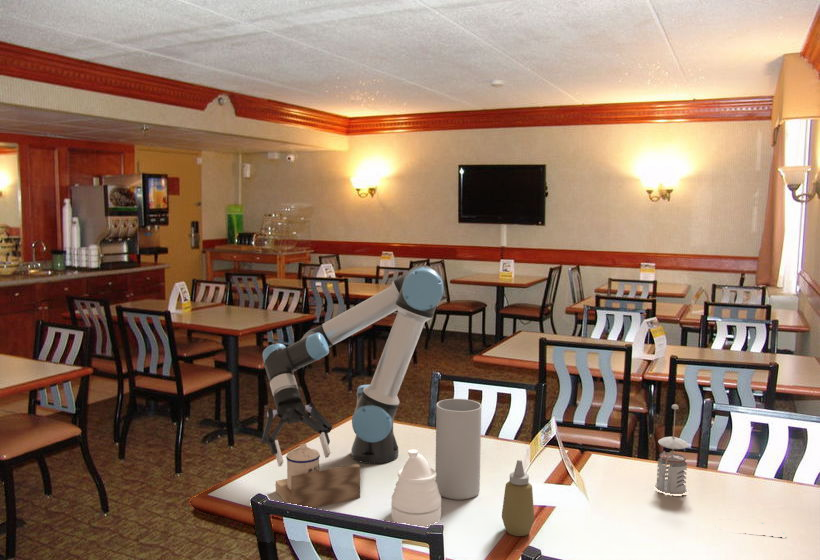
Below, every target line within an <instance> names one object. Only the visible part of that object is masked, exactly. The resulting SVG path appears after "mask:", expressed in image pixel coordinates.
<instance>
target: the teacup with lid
mask: <svg viewBox="0 0 820 560" xmlns="http://www.w3.org/2000/svg"><path fill="white" fill-rule="evenodd" d="M320 457H321V455H320V452H319V451H318V450H316V449H314V448H310V447H308V446H307V444H306V443H301V444H299V446H298V447H297V448H296V449H295V448H294V449H292V450H290V451H288V452H287V454H286V456H285V458H286V463H287V464H286V465H287V466H286V467H287V469H286V475H287V476H286V477H287V478H286V479H287V486H288V488H289V489H290V490H291V476H295V475H301V474H306V473H311V472H316V471H320Z"/></svg>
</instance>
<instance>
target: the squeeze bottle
mask: <svg viewBox="0 0 820 560" xmlns="http://www.w3.org/2000/svg"><path fill="white" fill-rule="evenodd" d="M529 480H530V479H529V474H528V473H526V472H525V471H524V465H523V460H521V459H518V460H516V463H515V467H514V471H512V472H511V473H510V474H509V480H508V482H506V483H505V487H504V495H503V502H502V504H503V505H502V511H501V519H502V522H503V526H504V529H505V532H506V533H508V534H509V535H512V536H515V537H524V536H527V535H529V534H530V532H531V529H532V526H533V525H534V523H535V519H536V518H535V509H534V494H533V486H532V484H531V483H530V482H529Z"/></svg>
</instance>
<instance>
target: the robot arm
mask: <svg viewBox="0 0 820 560" xmlns="http://www.w3.org/2000/svg"><path fill="white" fill-rule="evenodd" d="M443 295H444V282H443V280H442V277H441V276H440V274H439V272H438V271H437V269H435V268H434V267H432V266H429V265H426V264H420V265H416V266H413V267H412V268H410V269H409V270H407V272H405V273H404V274H403V275H401V276H399V277H397V278H396V279H395V280H393V281H392V282H391V285H390V286H388V287H387V288H385V289H383V290H381V291H380V292H378V293H376V294H374V295H372V296H371V297H369V298H367V299H365V300H363V301H362V302H360V303H358V304H356V305H354V306H353V307H351V308H348V309H347V310H345V311H344V312H342V313H340V314H338V315H336V316H335V317H333V318H330V319H329V320H327V321H325V322H324V323H322V324H321V325H318V326H317V327H315V328H311V329H309V330H307V332H305V333H304V334H303V336H302V338H301V339H299V340H298V341H296V342H293V343H292V344H291V345H288V346H286V345H285V344H283V343H280V342H279V343H275V344H269V345H267V347H266V348H265V349H264V350H263V351H262V359H263V360H262V361H263V366H264V368H265V372H266V376H267V378H268V381H269V382H268V383H269V386H270V387H269V388H270V390H271V394H272V396H273V402H274V404H275V408H276V409H273V408H271V407H269V408H268V410H267V412H266V424H265V427H264V429H263V434H262V437H261V444H267V445H268V447H269V449H270V452H271V454H272V455H273V456H274V455H275V458H276V461H277V466H278V467H282V465H283V464H284V459H283V455H282V451H281V446H280V443H279V439H277V436H278V434H279V433H280V431H281V429H282V427H283V426H284V424H285V423H286V424H293V423H299V422H301V423H302V424H305V425H306V426H308V427H309V428H311V429H312V430H314V431H315V432H316V433H318V434H319V436H318V438H319V440H320V444H321V448H322V450H323V455H324V457H325V459H328V458H329V456H330V455H331V454H332V453H331V449H330V446H329V444H330V442H331V440H330V437H329V433H331V431H332V429H333V426H332V424H331V423H330V422H329V421H328V419H326V418H325V416H323V415H322V413H321V412H320V411H319V410H318V409H317V408H316V405H315V403H314V402H310V403H309V404H306V405H304V404H303V400H302V397H301V393H300V390H299V386H298V383H297V380H296V379H297V378H296V377H295V374H294V372H295V371H297V370H299V369H301V368H303V367H305V366H308V365H309V364H311V363H314V362H316V361H320V360H321V359H323V358H324V357H326V356H328V354H329V353H330V349H329V348H331V347H333V346H334V345H336V344H337V343H339V342H342V341H344V340H345V339H347V338H348V337H351V336H353V335H354V334H356V333H357V332H360V331H362V330H363V329H365V328H367V327H369V326H371V325H373V324H374V323H376V322H378V321H380V320H382V319H384V318H385V317H388V316H389V315H391V314H392V313H394V312H397V314H396V316H395V319H394V321H393V324H392V327H391V329H390V332H389V334H388V338H387V339H386V342H385V345H384V347H383V350H382V353H381V356H380V358H379V361H378V363H377V367H376V369H375V372H374V373H373V377H372V379H371V382H370V384H362V385H359V386H358V387H357V391H356V397H357V398H356V406H355V409H354V412H353V413H352V418H351V426H352V430H353V432H354V433H355V438H354V440H353V443H352V447H351V458H352V459H353V460H355V461H357V462H358V463H359V462H360V463H365V464H385V463H389V462H392V461H394V460H396V459H398V458H399V447H398V444H397V439H396V436H395V433H394V418H395V416H396V413H397V410H398V407H399V405H400V399H399V397H398V393H399V391H400V388H401V386H402V383H403V381H404V378H405V376H406V373H407V370H408V368H409V365H410V362H411V359H412V356H413V355H414V352H415V349H416V346H417V344H418V341H419V339H420V336H421V333H422V331H423V329H424V327H425V323H426V322H428V321H429V320H432V319H433V318H434V314H435V311H436V309H437V306H438V304H439V303H440V301H441V300H442V298H443ZM306 411H307V412H306ZM308 413H309V414H310V415H309V414H308ZM275 416H277V417H278V418H279V419H280V420H279V422H278V423H277V425H276V427H275V429H274V430H273V433H271V436H269V435H270V430H271V428H272V427H271V426H272V423H273V419H274V418H275Z"/></svg>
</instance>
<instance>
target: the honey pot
mask: <svg viewBox="0 0 820 560" xmlns="http://www.w3.org/2000/svg"><path fill="white" fill-rule="evenodd" d="M407 454H408V457H409V458H408V459H407V461H406V462H405V464H404V465H403V467H402V468H400V469H399V470H398V471H397V477H398V480H397V481H396V483H395V487H394V489H393V493H392V495H391V515H390V516H391V520H392V521H393V520H394V521H393V522H394V523H396V522H398V523H406V524H410V525H417V526H427V525H428V526H429V525H430V524H434V523H435V522H438V521H439V520H440V521H441V519H442V496H441V495H440V493H439V490H438V485H437V483H436V482H435V478H436V475H437V474H436V472H435V469H433V468H431V466H430V464H429V463H428V461H427V460H426V458H425V456H424V455H422V454H420V453H419V451H418V450H417V449H409V450H407ZM440 518H441V519H440ZM440 521H439V522H440ZM439 522H438V523H439ZM429 527H430V526H429Z"/></svg>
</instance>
